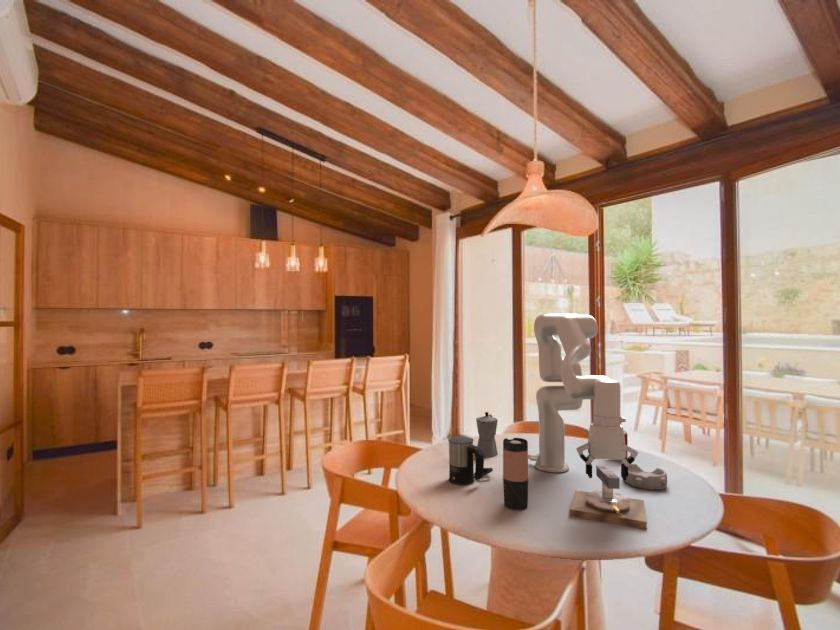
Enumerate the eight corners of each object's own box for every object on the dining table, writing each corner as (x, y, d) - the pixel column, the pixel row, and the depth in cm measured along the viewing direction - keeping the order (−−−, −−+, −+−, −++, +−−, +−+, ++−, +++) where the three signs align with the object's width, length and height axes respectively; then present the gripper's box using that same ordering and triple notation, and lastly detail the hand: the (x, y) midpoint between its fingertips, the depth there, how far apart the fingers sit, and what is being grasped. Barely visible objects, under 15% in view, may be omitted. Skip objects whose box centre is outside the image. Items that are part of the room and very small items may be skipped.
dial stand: (569, 516, 129) (569, 508, 129) (575, 496, 144) (575, 489, 144) (646, 529, 121) (646, 521, 121) (644, 506, 136) (644, 499, 136)
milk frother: (444, 483, 157) (443, 441, 157) (460, 469, 171) (459, 430, 171) (482, 489, 150) (482, 445, 151) (496, 475, 165) (495, 435, 165)
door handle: (581, 495, 139) (581, 464, 139) (620, 496, 138) (620, 465, 139) (596, 515, 125) (595, 481, 125) (640, 516, 124) (639, 482, 124)
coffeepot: (494, 459, 183) (494, 415, 183) (472, 457, 186) (472, 414, 186) (501, 449, 197) (501, 409, 197) (481, 447, 200) (480, 407, 201)
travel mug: (523, 512, 132) (523, 445, 132) (499, 507, 136) (499, 441, 136) (531, 503, 138) (531, 439, 139) (508, 498, 143) (508, 436, 143)
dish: (620, 475, 165) (620, 461, 165) (662, 479, 160) (662, 465, 160) (625, 489, 151) (625, 474, 151) (671, 494, 146) (671, 478, 147)
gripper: (633, 418, 136) (633, 474, 136) (574, 416, 138) (574, 471, 139) (641, 425, 128) (641, 484, 128) (578, 422, 131) (578, 480, 131)
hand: (606, 477), depth 133 cm, fingers open, 9 cm apart
